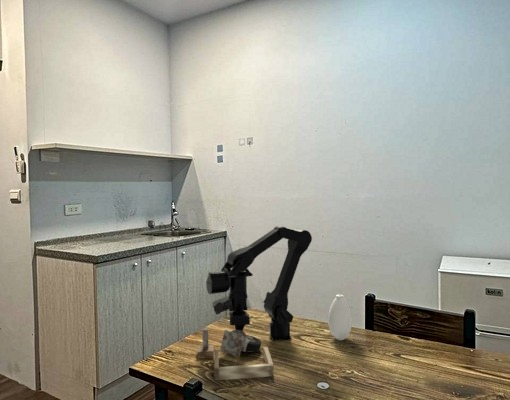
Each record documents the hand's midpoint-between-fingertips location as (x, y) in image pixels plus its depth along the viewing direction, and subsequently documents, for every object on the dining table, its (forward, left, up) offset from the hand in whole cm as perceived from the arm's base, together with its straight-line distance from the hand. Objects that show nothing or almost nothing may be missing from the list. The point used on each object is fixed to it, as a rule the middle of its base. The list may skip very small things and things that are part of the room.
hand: (238, 336), depth 121 cm
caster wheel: (-1, +4, -3) cm, 5 cm away
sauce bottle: (-35, 0, -3) cm, 35 cm away
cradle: (0, +15, -3) cm, 15 cm away
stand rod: (+11, +5, -3) cm, 12 cm away
